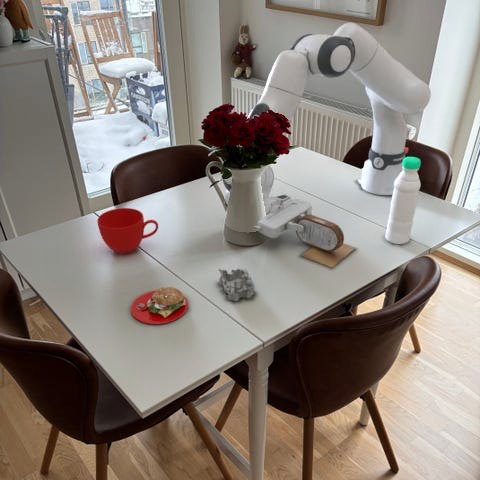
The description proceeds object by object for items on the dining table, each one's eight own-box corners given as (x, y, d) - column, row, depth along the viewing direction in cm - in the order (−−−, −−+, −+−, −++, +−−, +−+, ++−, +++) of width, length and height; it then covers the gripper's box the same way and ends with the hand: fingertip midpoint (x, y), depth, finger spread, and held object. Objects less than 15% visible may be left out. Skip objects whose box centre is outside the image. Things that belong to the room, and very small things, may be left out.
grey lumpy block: (218, 280, 134) (217, 267, 132) (245, 276, 136) (244, 263, 133) (228, 303, 125) (227, 289, 123) (256, 298, 127) (256, 284, 125)
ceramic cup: (159, 258, 144) (155, 227, 138) (99, 260, 143) (93, 229, 137) (162, 236, 154) (158, 206, 149) (106, 238, 154) (101, 208, 148)
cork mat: (325, 238, 152) (325, 237, 152) (355, 249, 146) (355, 248, 146) (301, 256, 144) (301, 255, 143) (331, 268, 138) (331, 266, 138)
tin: (341, 253, 144) (346, 226, 139) (336, 256, 141) (341, 229, 137) (298, 236, 151) (301, 210, 147) (292, 239, 149) (295, 213, 145)
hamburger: (161, 284, 133) (159, 265, 129) (199, 305, 125) (198, 285, 122) (119, 309, 124) (115, 289, 120) (157, 332, 116) (154, 312, 113)
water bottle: (407, 234, 154) (422, 154, 139) (411, 245, 148) (428, 163, 134) (383, 233, 154) (396, 153, 140) (386, 244, 148) (401, 163, 134)
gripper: (248, 215, 145) (287, 229, 137) (289, 192, 158) (327, 204, 150) (248, 234, 148) (286, 249, 141) (288, 210, 161) (325, 223, 154)
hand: (307, 226), depth 146 cm, fingers closed on tin, 2 cm apart
